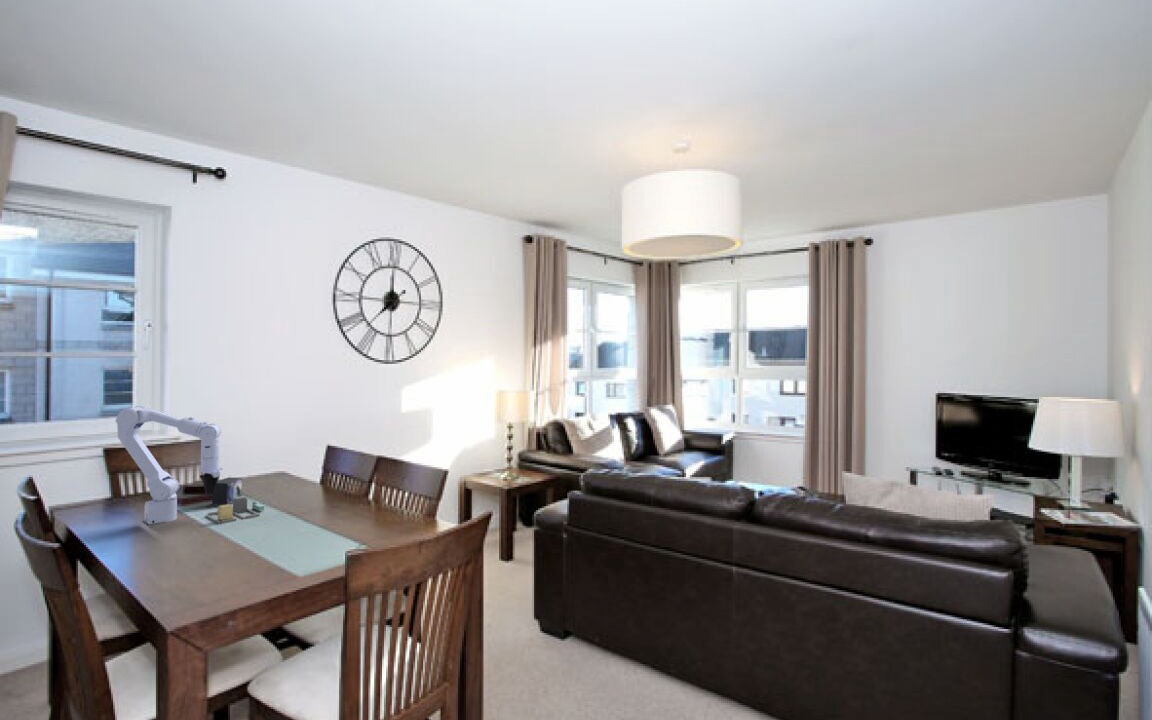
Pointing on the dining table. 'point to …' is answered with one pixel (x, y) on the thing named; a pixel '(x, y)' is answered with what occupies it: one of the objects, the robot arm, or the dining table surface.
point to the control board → (233, 517)
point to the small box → (226, 491)
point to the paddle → (257, 506)
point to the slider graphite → (240, 504)
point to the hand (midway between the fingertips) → (209, 493)
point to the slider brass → (225, 512)
